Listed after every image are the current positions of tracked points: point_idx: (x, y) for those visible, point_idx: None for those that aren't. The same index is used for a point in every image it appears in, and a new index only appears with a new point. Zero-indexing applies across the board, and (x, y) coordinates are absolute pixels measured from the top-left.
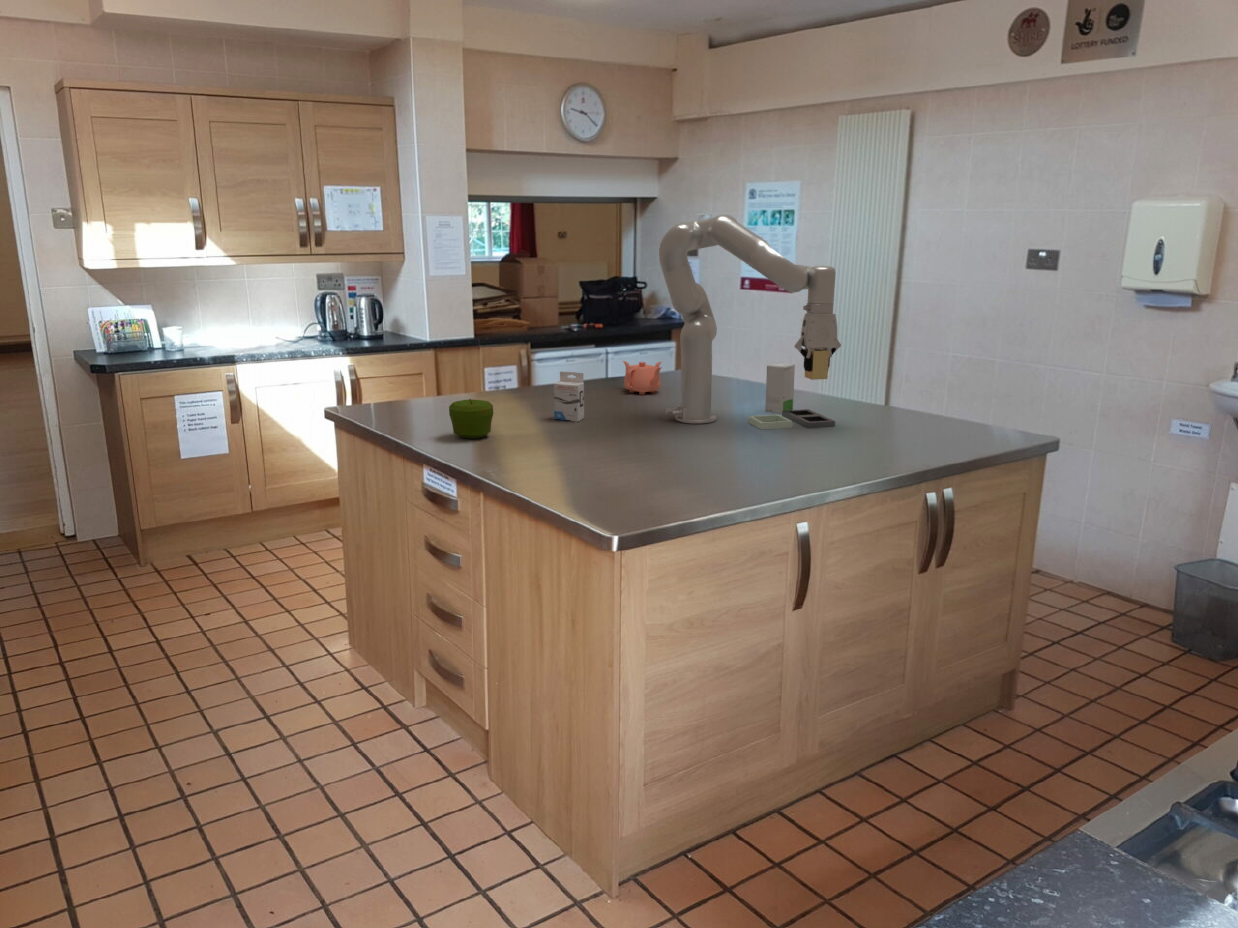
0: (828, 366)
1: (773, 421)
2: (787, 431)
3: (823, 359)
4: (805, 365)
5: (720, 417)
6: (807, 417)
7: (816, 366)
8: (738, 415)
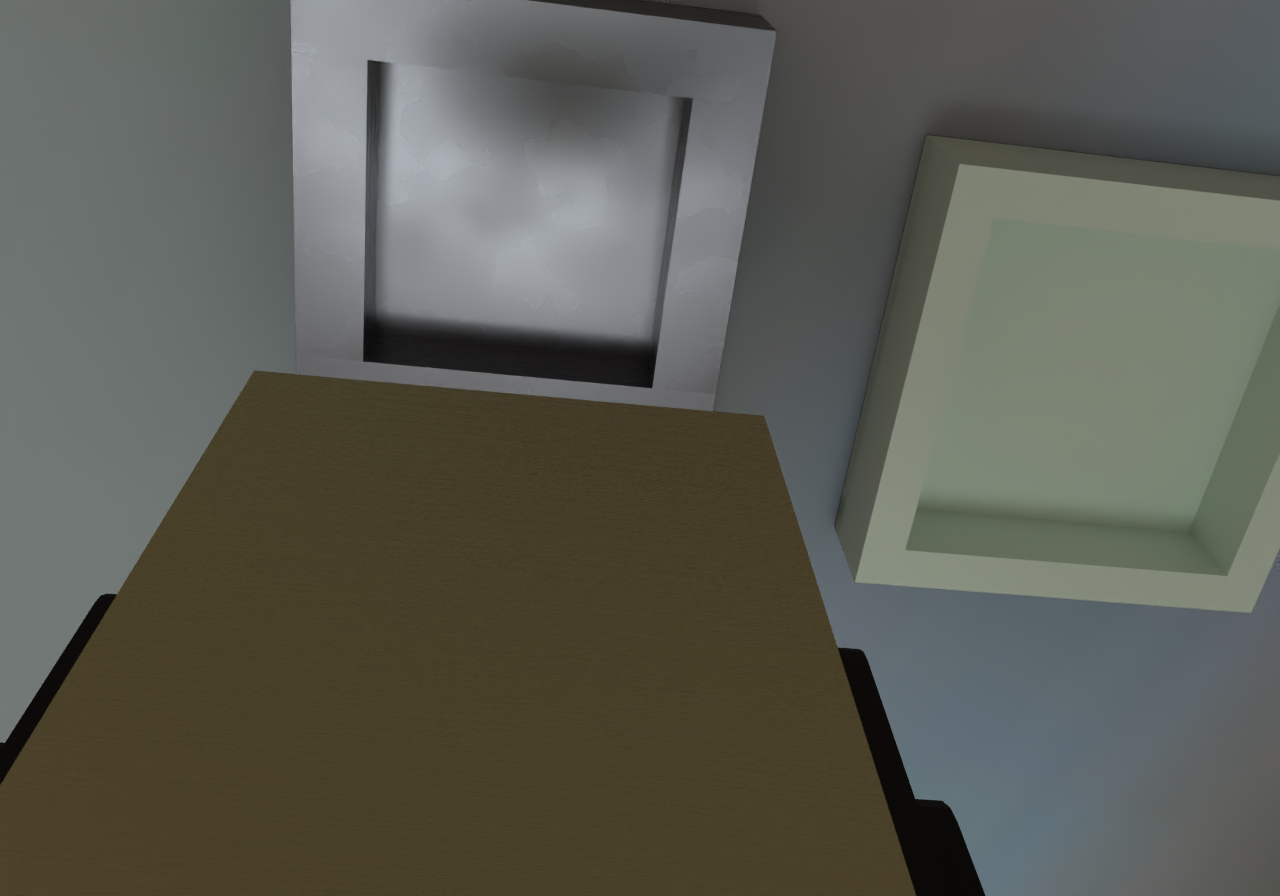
0: (53, 680)
1: (928, 510)
2: (1056, 58)
3: (300, 860)
4: (955, 892)
5: (1217, 871)
6: (550, 375)
7: (674, 653)
8: (1003, 889)
